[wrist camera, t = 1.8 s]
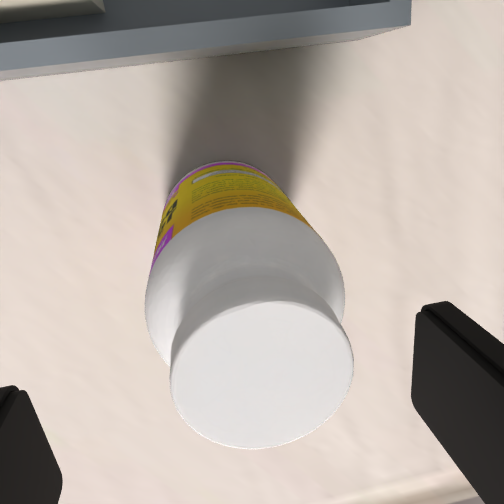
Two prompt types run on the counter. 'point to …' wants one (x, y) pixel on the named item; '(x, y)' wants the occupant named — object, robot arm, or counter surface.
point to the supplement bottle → (246, 310)
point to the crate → (186, 32)
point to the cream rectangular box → (46, 9)
